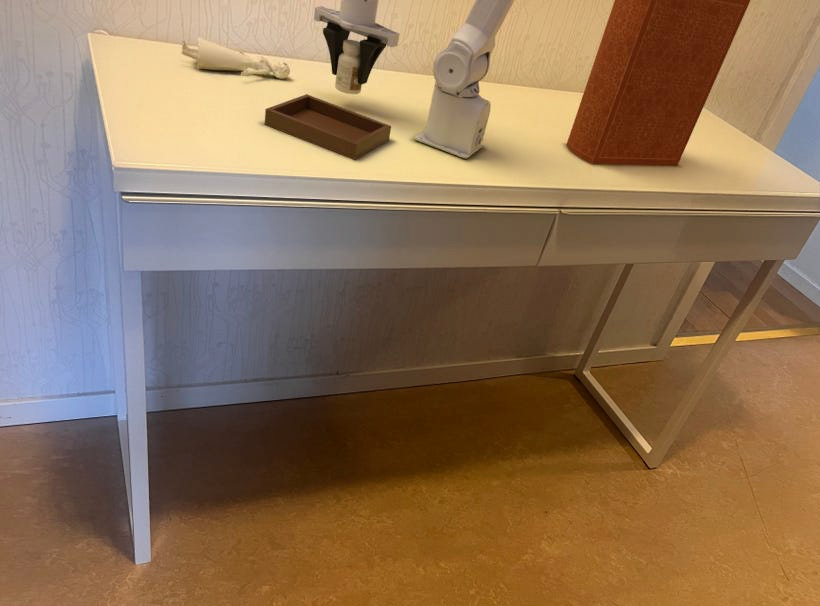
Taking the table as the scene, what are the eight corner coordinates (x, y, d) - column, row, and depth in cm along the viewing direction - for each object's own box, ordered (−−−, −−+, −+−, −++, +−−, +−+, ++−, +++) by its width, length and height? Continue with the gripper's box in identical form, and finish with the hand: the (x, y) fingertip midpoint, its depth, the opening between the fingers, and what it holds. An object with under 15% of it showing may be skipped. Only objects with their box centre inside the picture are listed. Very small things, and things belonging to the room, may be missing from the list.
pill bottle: (356, 97, 116) (363, 49, 112) (331, 89, 116) (337, 41, 112) (363, 90, 120) (370, 44, 115) (339, 83, 120) (345, 36, 115)
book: (650, 148, 140) (717, -15, 123) (677, 165, 135) (751, -2, 117) (561, 144, 129) (621, -35, 112) (587, 164, 124) (653, -21, 106)
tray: (389, 140, 111) (391, 125, 110) (354, 159, 102) (356, 144, 101) (305, 108, 114) (306, 93, 113) (264, 124, 105) (265, 108, 104)
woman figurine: (183, 25, 119) (289, 49, 126) (181, 51, 122) (285, 74, 129) (181, 45, 111) (294, 70, 118) (179, 73, 113) (290, 96, 120)
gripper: (307, -22, 107) (299, 68, 115) (390, 6, 104) (376, 96, 112) (330, -25, 113) (321, 61, 121) (410, 2, 110) (395, 88, 118)
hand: (349, 78), depth 117 cm, fingers closed on pill bottle, 4 cm apart
